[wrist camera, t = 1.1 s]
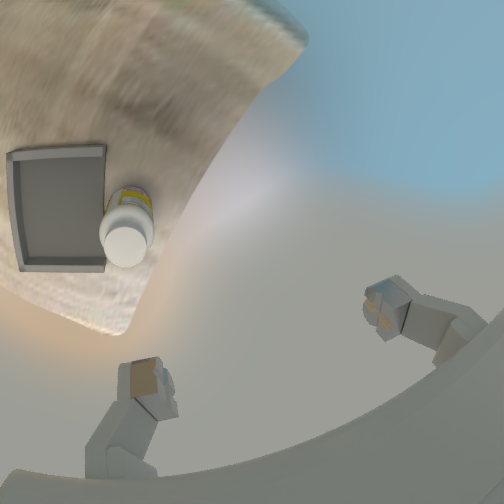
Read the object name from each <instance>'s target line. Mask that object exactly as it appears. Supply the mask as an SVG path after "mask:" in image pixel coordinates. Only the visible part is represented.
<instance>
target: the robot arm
mask: <svg viewBox="0 0 504 504" xmlns="http://www.w3.org/2000/svg"><path fill="white" fill-rule="evenodd" d="M365 296H366V297H367V299H366V301H365V302H364V304H363V313H364V316H365V318H366V320H367V321H368V322H369V324H370V325H373V326H376V332H377V333H378V334H379V335H380V337H381V338H382V339H383V340H384V341H385V342H386V341H388V340H390V339H392V338H394V337H396V336H398V335H400V334H401V335H402V336H405V337H407V338H409V339H411V340H413V341H415V342H418V343H420V344H422V345H424V346H426V347H429V348H431V349H433V350H435V351H437V352H436V354H435V356H434V358H433V362H432V363H433V364H434V365H435V366H436V367H437V368H436V369H435V370H434V371H432V372H431V373H430V374H428V375H427V376H426V377H424V378H423V379H421V380H420V381H418V382H417V383H415V384H414V385H413V386H411V387H409V388H408V389H406V390H405V391H403V392H402V393H400V394H398V395H397V396H395V397H394V398H392V399H390V400H389V401H387V402H385V403H383V404H382V405H380V406H378V407H377V408H375V409H373V410H371V411H369V412H368V413H366V414H364V415H362V416H360V417H358V418H356V419H354V420H352V421H350V422H348V423H346V424H344V425H342V426H340V427H338V428H336V429H333V430H331V431H329V432H327V433H324V434H322V435H320V436H317V437H315V438H313V439H310V440H308V441H305V442H303V443H300V444H297V445H295V446H292V447H289V448H287V449H284V450H281V451H278V452H275V453H272V454H269V455H265V456H262V457H259V458H255V459H252V460H248V461H245V462H241V463H237V464H233V465H229V466H224V467H220V468H215V469H211V470H205V471H200V472H194V473H188V474H181V475H174V476H165V477H158V476H157V471H156V469H155V468H154V467H153V466H151V465H149V464H147V463H146V462H144V461H143V458H144V456H145V453H146V451H147V449H148V446H149V444H150V441H151V439H152V436H153V434H154V431H155V429H156V427H157V424H158V422H157V421H162V420H167V419H172V418H176V417H178V410H177V404H176V401H175V400H174V398H173V395H174V393H175V389H174V384H173V381H172V377H171V375H170V373H169V372H168V370H167V369H165V368H163V364H162V361H161V359H160V358H159V357H152V358H148V359H142V360H137V361H133V362H128V363H122V364H120V366H119V368H118V387H117V401H114V402H113V403H112V405H111V406H110V408H109V410H108V411H107V413H106V414H105V416H104V418H103V419H102V421H101V422H100V424H99V425H98V427H97V429H96V430H95V432H94V433H93V435H92V436H91V438H90V440H89V442H88V443H87V444H86V446H85V478H72V477H62V476H54V475H47V474H40V473H35V472H30V471H25V470H20V469H16V470H13V471H12V472H11V473H10V474H9V476H8V477H7V479H6V480H5V481H4V483H3V484H2V486H1V487H0V504H504V308H503V309H502V311H501V312H500V313H499V314H498V315H497V316H496V317H495V318H494V319H493V320H492V321H491V322H490V323H489V324H488V323H487V322H486V321H485V320H483V319H482V318H481V317H480V316H479V315H478V314H477V313H476V312H475V311H474V310H473V309H471V308H470V307H468V306H464V305H461V304H458V303H454V302H450V301H447V300H443V299H440V298H436V297H433V296H429V295H426V294H424V295H421V294H420V293H419V292H418V291H416V290H415V289H414V288H413V287H412V286H411V285H409V284H408V283H407V282H406V281H405V280H404V279H402V278H401V277H400V276H399V275H394V276H392V277H389V278H387V279H385V280H383V281H380V282H378V283H376V284H373V285H371V286H369V287H367V288H366V290H365Z"/></svg>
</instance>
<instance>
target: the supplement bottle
mask: <svg viewBox="0 0 504 504" xmlns="http://www.w3.org/2000/svg"><path fill="white" fill-rule="evenodd" d="M99 237H100V241H101V244H102V246H103V247H104V252H105V255H106V257H107V258H108V259H109V260H110V261H111V262H112V263H113V264H115V265H117V266H120V267H131V266H134V265H136V264H138V263H139V262H140V261H141V260H142V259H143V258H144V256H145V254H146V252H147V251H148V249H149V248H150V247H151V245H152V243H153V240H154V222H153V211H152V204H151V200H150V198H149V196H148V195H147V194H146V193H145V192H144V191H143V190H141V189H139V188H137V187H124V188H121V189H119V190H118V191H116V192H115V193H114V194H113V195H112V197H111V198H110V200H109V202H108V205H107V208H106V210H105V213H104V216H103V218H102V221H101V224H100V228H99Z"/></svg>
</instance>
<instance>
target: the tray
mask: <svg viewBox="0 0 504 504" xmlns="http://www.w3.org/2000/svg"><path fill="white" fill-rule="evenodd" d="M105 158H106V145H73V146H54V147H40V148H29V149H19V150H14V151H11V152H9V153H6V171H7V192H8V204H9V214H10V222H11V229H12V235H13V241H14V247H15V252H16V257H17V262H18V266H19V271H20V272H66V273H104V271H105V265H106V255H105V252H104V247H103V246H102V244H101V241H100V237H99V228H100V224H101V221H102V218H103V216H104V176H105Z"/></svg>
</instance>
